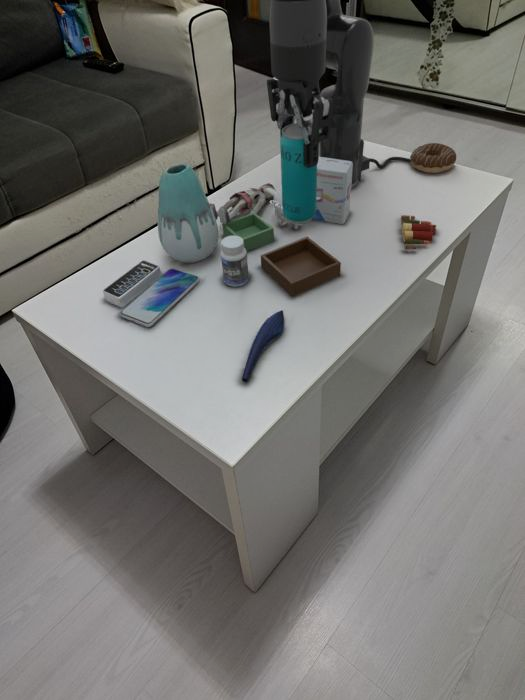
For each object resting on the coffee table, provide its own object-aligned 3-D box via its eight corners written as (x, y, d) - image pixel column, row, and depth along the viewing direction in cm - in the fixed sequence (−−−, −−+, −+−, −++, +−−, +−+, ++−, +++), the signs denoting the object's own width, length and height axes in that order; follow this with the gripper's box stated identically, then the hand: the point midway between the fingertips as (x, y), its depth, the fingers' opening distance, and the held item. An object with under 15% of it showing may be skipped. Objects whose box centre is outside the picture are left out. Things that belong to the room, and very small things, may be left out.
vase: (152, 255, 101) (130, 170, 88) (194, 230, 106) (179, 147, 93) (189, 277, 95) (172, 189, 82) (232, 249, 100) (222, 163, 88)
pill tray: (255, 224, 106) (254, 212, 104) (274, 240, 102) (273, 228, 100) (223, 236, 104) (222, 223, 102) (241, 253, 99) (240, 240, 97)
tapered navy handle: (253, 389, 76) (255, 380, 74) (232, 380, 76) (233, 371, 74) (290, 318, 85) (292, 309, 83) (271, 311, 85) (273, 302, 83)
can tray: (307, 249, 99) (307, 236, 97) (340, 275, 92) (341, 262, 90) (261, 268, 95) (260, 255, 93) (292, 297, 89) (291, 283, 87)
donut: (463, 170, 118) (467, 153, 115) (423, 179, 116) (426, 162, 113) (439, 153, 125) (442, 137, 122) (401, 161, 123) (403, 145, 120)
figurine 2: (273, 217, 111) (253, 225, 103) (277, 178, 107) (257, 184, 99) (324, 228, 107) (307, 237, 99) (330, 188, 103) (313, 194, 95)
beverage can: (292, 206, 89) (291, 119, 78) (321, 213, 86) (324, 125, 76) (276, 222, 85) (272, 133, 74) (306, 229, 83) (307, 140, 72)
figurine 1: (203, 202, 100) (260, 174, 113) (205, 228, 104) (261, 199, 117) (226, 207, 98) (282, 179, 110) (228, 235, 101) (282, 204, 114)
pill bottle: (219, 284, 93) (213, 246, 87) (230, 270, 96) (225, 232, 90) (242, 289, 91) (238, 250, 85) (253, 274, 94) (249, 236, 88)
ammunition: (404, 252, 96) (438, 254, 95) (406, 243, 94) (441, 244, 94) (400, 220, 104) (431, 222, 104) (402, 211, 103) (434, 212, 102)
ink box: (305, 219, 107) (305, 166, 98) (312, 207, 110) (313, 155, 102) (343, 225, 104) (347, 171, 96) (350, 213, 107) (354, 160, 99)
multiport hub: (105, 300, 91) (101, 290, 90) (145, 269, 97) (143, 259, 96) (122, 308, 89) (118, 298, 88) (162, 275, 95) (160, 265, 94)
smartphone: (117, 313, 87) (170, 267, 96) (119, 317, 88) (171, 271, 96) (149, 325, 84) (200, 276, 93) (150, 329, 85) (201, 280, 93)
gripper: (354, 41, 63) (346, 168, 75) (291, 21, 72) (293, 137, 84) (305, 53, 61) (305, 183, 73) (247, 31, 70) (255, 149, 82)
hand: (298, 158), depth 78 cm, fingers closed on beverage can, 5 cm apart
